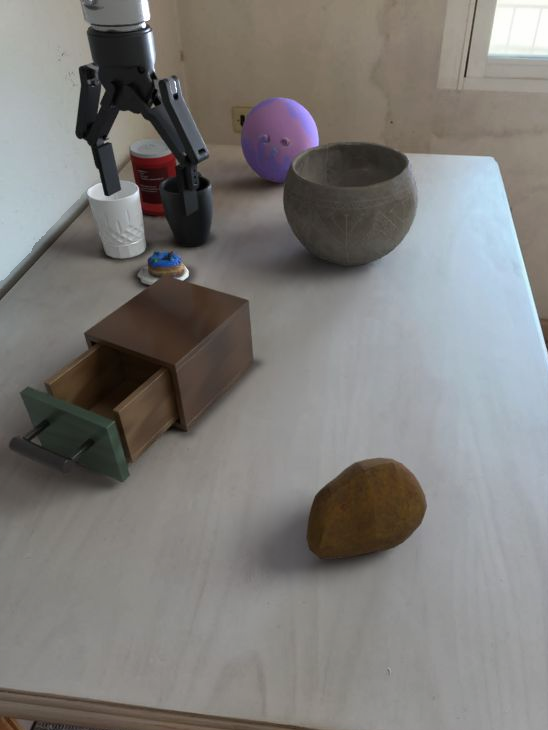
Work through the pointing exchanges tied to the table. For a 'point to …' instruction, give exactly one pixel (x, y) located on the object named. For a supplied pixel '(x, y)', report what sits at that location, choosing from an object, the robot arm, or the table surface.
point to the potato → (365, 510)
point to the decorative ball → (276, 137)
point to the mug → (194, 225)
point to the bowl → (350, 200)
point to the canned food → (151, 171)
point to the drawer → (98, 413)
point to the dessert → (163, 267)
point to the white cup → (119, 219)
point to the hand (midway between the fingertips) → (150, 202)
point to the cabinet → (184, 340)
